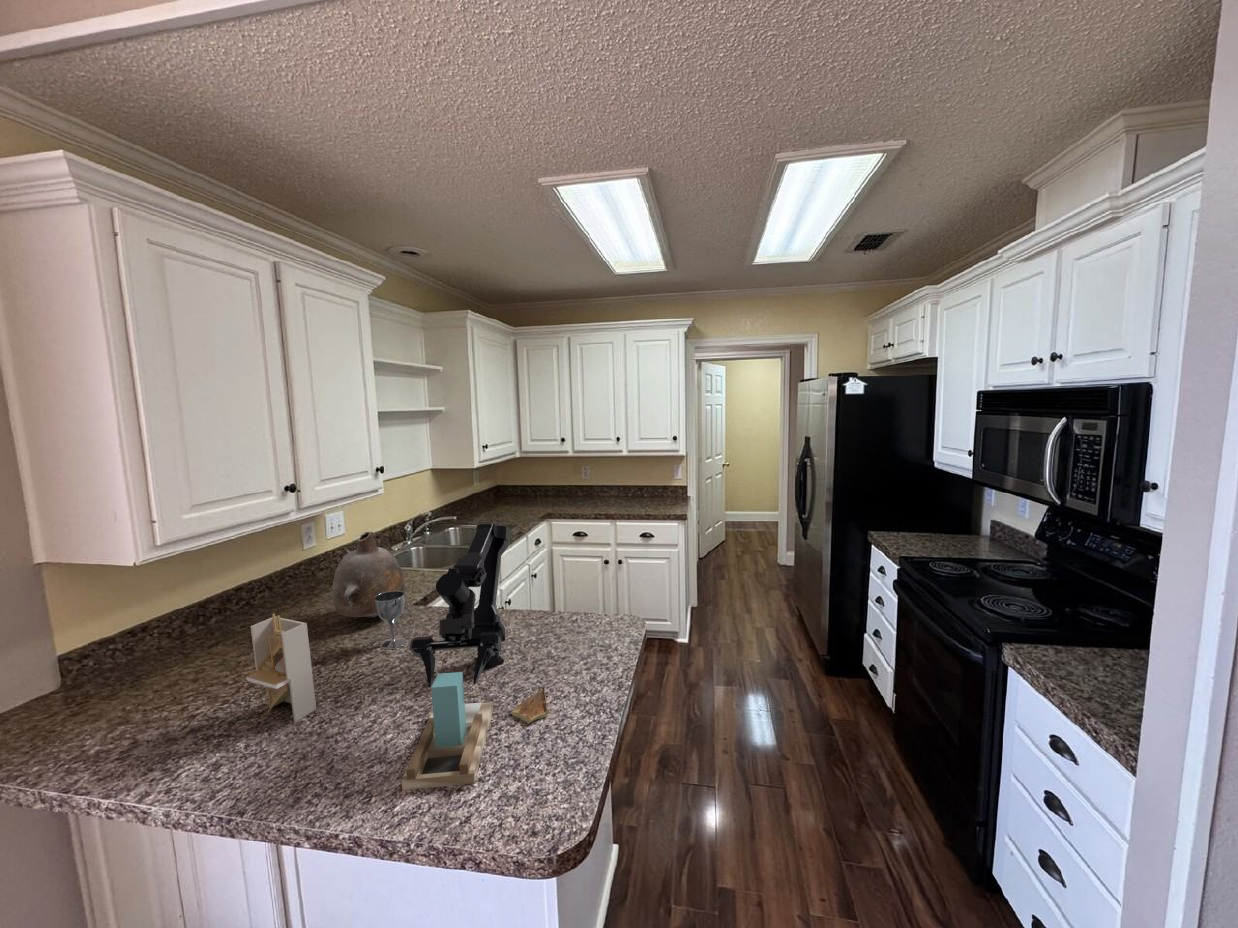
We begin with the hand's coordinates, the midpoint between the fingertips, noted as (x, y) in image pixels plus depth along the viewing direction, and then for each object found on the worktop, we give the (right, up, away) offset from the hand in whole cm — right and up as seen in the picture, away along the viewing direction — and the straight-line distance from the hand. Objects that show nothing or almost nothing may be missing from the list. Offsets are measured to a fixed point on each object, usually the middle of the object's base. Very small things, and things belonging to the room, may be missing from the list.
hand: (452, 685), depth 103 cm
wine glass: (-32, -7, +43) cm, 54 cm away
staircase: (-43, -12, +12) cm, 46 cm away
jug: (-48, -5, +61) cm, 78 cm away
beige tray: (+1, -12, -2) cm, 12 cm away
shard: (+14, -11, +10) cm, 21 cm away
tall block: (+1, -10, -2) cm, 10 cm away
